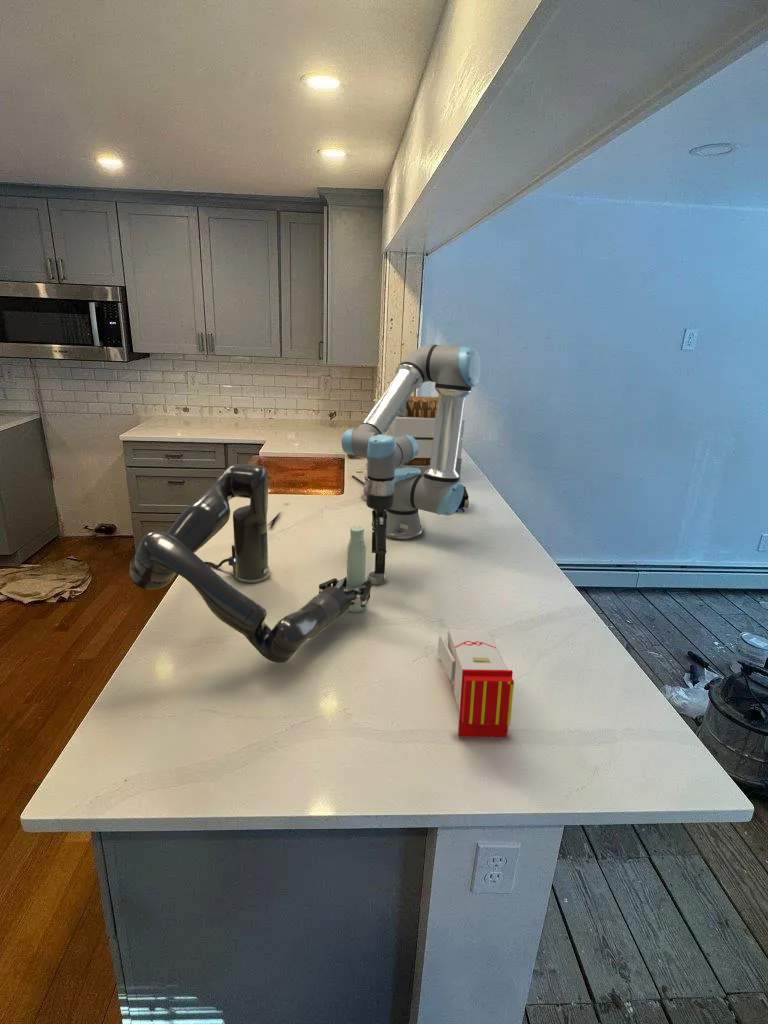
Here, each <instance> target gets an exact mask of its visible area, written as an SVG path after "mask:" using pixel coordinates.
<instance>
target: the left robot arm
mask: <svg viewBox="0 0 768 1024" xmlns="http://www.w3.org/2000/svg"><path fill="white" fill-rule="evenodd" d="M233 498H234V499H235V498H241V499H249V500H250V501H249V504H248V505H244V506H240V507H237V508H236V509H235V510H234V511H233V513H232V527H233V543H234V544H232V545H231V556H230V557H228V558H225V559H222V560H221V561H220V562H219V563H218V564H216V563H214V562H211V561H204V560H202V559H201V558H200V557H199V556H198V555H197V554H196V552H197V551H198V550H200V549H201V548H203V546H204V545H206V544H208V542H209V541H210V540H211V539H212V538H213V537H214V536H216V535H217V534H218V533H219V532H220V531H221V530H222V529H223V528H224V527H225V526H226V525H227V523H228V522H229V519H230V516H231V507H230V502H229V501H230V500H231V499H233ZM268 498H269V475H268V471H267V469H266V468H265V466H263V465H257V464H247V463H234V464H231V465H230V466H229V467H227V468H226V469H225V470H224V472H223V473H222V475H220V476H219V478H218V479H217V480H216V481H215V482H214V483H213V484H212V485H211V486H210V487H209V488H208V489H207V490H206V491H205V492H203V493H202V494H201V495H199V497H197V498H196V499H194V501H192V502H191V503H190V504H188V506H186V508H185V509H184V510H182V512H181V514H179V516H178V517H177V518H176V520H175V521H174V523H173V524H172V525H171V527H170V528H169V529H168V531H167V532H164V531H157V530H156V531H151V532H148V533H147V534H145V535H143V537H142V538H141V540H140V542H139V543H138V546H137V548H136V549H135V550H134V551H135V552H134V554H133V555H132V558H131V560H130V563H129V569H128V573H129V577H130V579H131V582H132V583H133V584H134V585H135V586H137V587H138V588H140V589H142V590H149V591H151V590H154V591H155V590H159V589H162V588H164V587H165V586H167V585H168V584H170V583H171V582H172V580H173V579H174V578H175V576H176V575H179V576H180V577H182V578H183V579H185V580H186V581H187V582H188V583H190V584H191V586H192V587H193V588H194V589H195V590H196V591H197V593H198V594H199V595H200V597H201V598H202V600H203V601H204V603H205V604H206V606H207V607H208V608H209V610H210V611H211V612H212V613H213V614H214V616H215V617H216V618H218V619H219V621H221V622H223V624H225V625H227V626H229V627H230V628H231V629H233V630H235V631H237V632H238V633H240V634H241V635H243V636H244V637H245V638H246V640H247V641H248V642H249V643H250V644H251V646H252V647H254V648H255V650H256V651H257V652H259V654H260V655H261V656H262V657H263V658H264V659H266V660H268V661H269V662H272V663H275V664H284V663H287V662H288V661H289V660H290V659H292V657H293V656H294V655H295V654H296V652H297V651H298V650H299V649H300V648H301V647H302V646H303V645H304V644H305V643H306V641H308V640H310V639H312V638H314V637H316V636H317V635H318V634H319V633H321V632H322V631H323V630H324V629H326V628H327V627H329V626H330V625H332V624H333V623H335V622H336V621H337V620H338V619H339V618H340V617H342V616H343V615H344V614H345V613H347V611H348V610H347V609H348V608H349V606H351V605H354V604H355V603H357V604H361V607H364V608H366V606H367V604H368V603H369V601H370V599H371V589H372V585H373V584H372V582H371V580H368V579H367V580H365V582H364V583H363V584H362V585H361V586H359V587H357V586H354V587H351V588H346V584H347V575H346V576H345V577H344V578H340V579H338V578H335V577H333V578H331V579H328V580H327V581H324V582H322V583H319V584H318V594H316V595H315V596H313V597H312V598H311V599H310V600H309V601H308V602H306V604H304V605H303V606H301V607H300V608H299V609H298V610H297V611H294V612H292V613H289V614H287V615H285V616H284V617H282V618H281V619H279V621H277V623H276V624H275V625H274V627H272V628H271V627H270V626H269V625H268V624H267V623H266V619H267V615H268V614H267V613H268V612H267V610H266V608H265V607H263V606H262V605H261V604H260V603H258V602H257V601H255V600H254V599H252V598H250V597H249V596H247V595H246V594H244V593H242V592H241V591H239V590H238V589H236V588H235V587H234V586H232V585H231V584H230V583H228V582H227V581H226V580H225V579H223V578H222V577H221V576H220V575H219V574H218V573H217V572H216V571H214V570H213V569H212V567H213V568H214V569H219V568H220V567H222V566H223V564H225V563H228V566H231V567H232V576H233V577H235V579H236V580H237V581H239V582H241V583H244V584H245V583H246V584H254V583H260V582H263V581H265V580H266V579H268V578H269V576H270V572H269V571H270V566H269V545H268V526H267V525H268V508H269V499H268ZM210 566H212V567H210ZM360 590H361V592H360ZM359 592H360V593H359Z"/></svg>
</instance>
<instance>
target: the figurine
mask: <svg viewBox="0 0 768 1024" xmlns="http://www.w3.org/2000/svg"><path fill="white" fill-rule="evenodd" d="M365 464H366V465H365V466H366V467H365V470H366V471H365V474H364V475H363V476H364V480H365V481H368V480H367V462H366V463H365ZM365 481H364V482H365ZM367 493H368V492H367V484H365V485H363V495H362V498H363V500H364V501H366V495H367Z"/></svg>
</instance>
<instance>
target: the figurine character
mask: <svg viewBox="0 0 768 1024" xmlns="http://www.w3.org/2000/svg"><path fill="white" fill-rule="evenodd" d="M469 498H470V496H469V494H468V491H467V488H466V486H464V493H463V498H462V501H461V503H460V505H459V507H458V509H457V510H456V511H455V513H458V510H461V511H462V513H465V509H469V506H470V500H469Z"/></svg>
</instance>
